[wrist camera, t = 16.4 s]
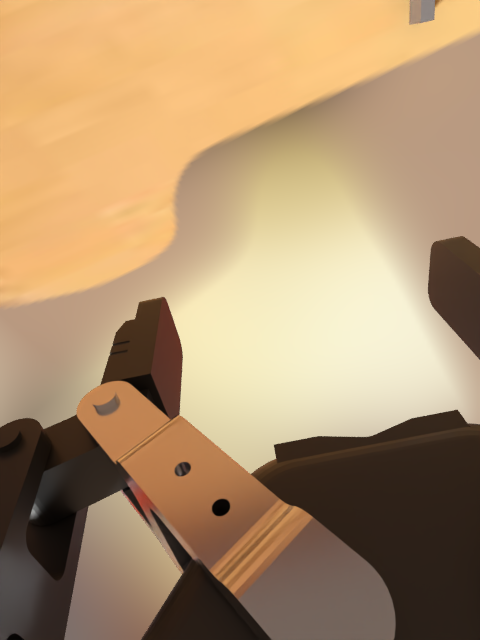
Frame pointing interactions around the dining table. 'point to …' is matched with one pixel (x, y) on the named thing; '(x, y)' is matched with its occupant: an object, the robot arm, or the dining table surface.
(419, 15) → the rail
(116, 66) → the dining table surface
